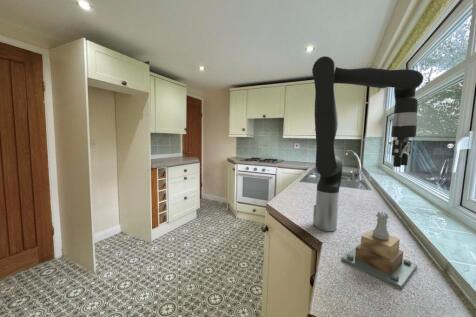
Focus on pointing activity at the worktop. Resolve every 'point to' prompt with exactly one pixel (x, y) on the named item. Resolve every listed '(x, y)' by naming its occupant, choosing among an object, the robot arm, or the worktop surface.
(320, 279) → the worktop surface
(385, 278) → the baseplate
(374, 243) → the stepped wooden plinth
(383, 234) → the rook chess piece
